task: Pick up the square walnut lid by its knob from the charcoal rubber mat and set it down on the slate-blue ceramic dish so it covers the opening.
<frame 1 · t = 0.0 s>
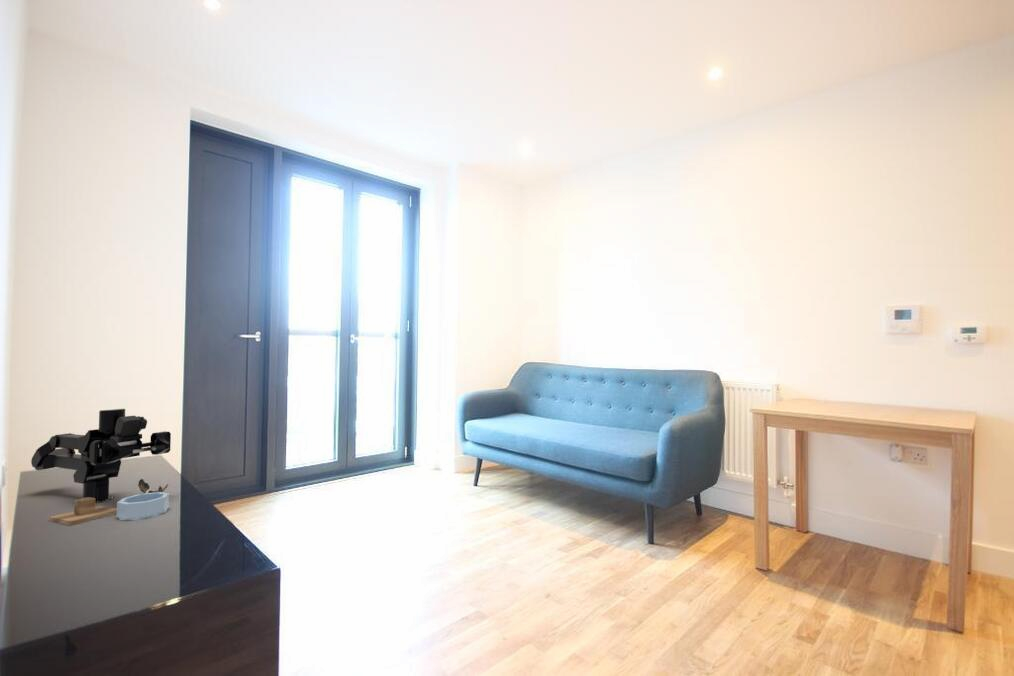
hand: (151, 448, 125), 17 cm above the table, tool horizontal, fingers open, 9 cm apart
mat: (84, 518, 118), on the table
lid: (84, 516, 118), resting on mat
bowl: (143, 515, 120), on the table
eagle figurine: (144, 503, 131), on the table
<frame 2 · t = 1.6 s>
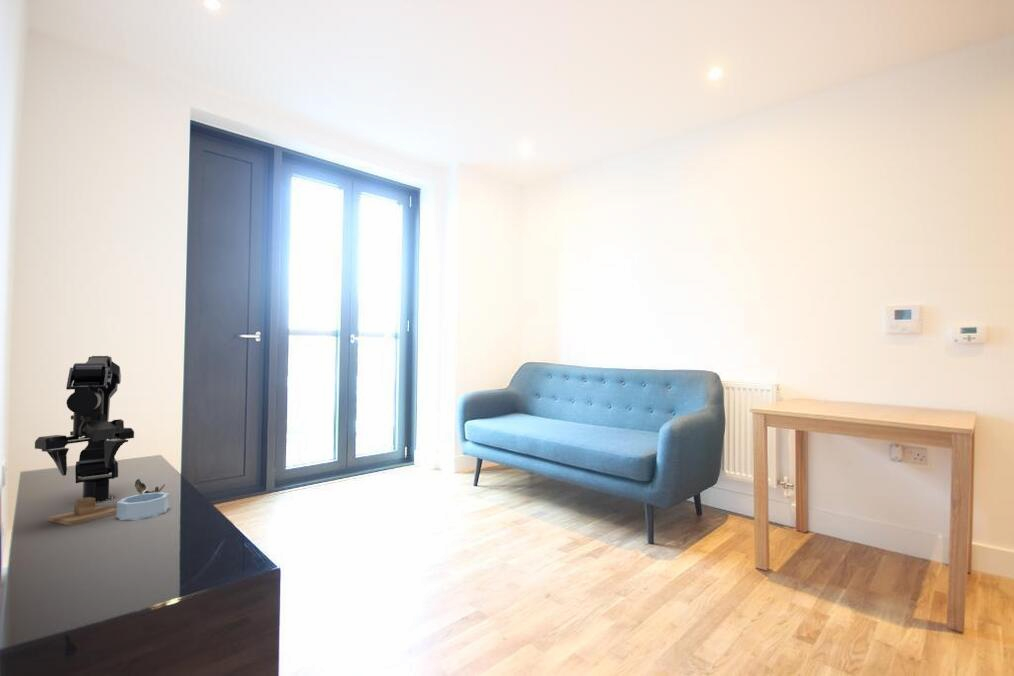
hand: (86, 471, 119), 12 cm above the table, tool pointing down, fingers open, 9 cm apart
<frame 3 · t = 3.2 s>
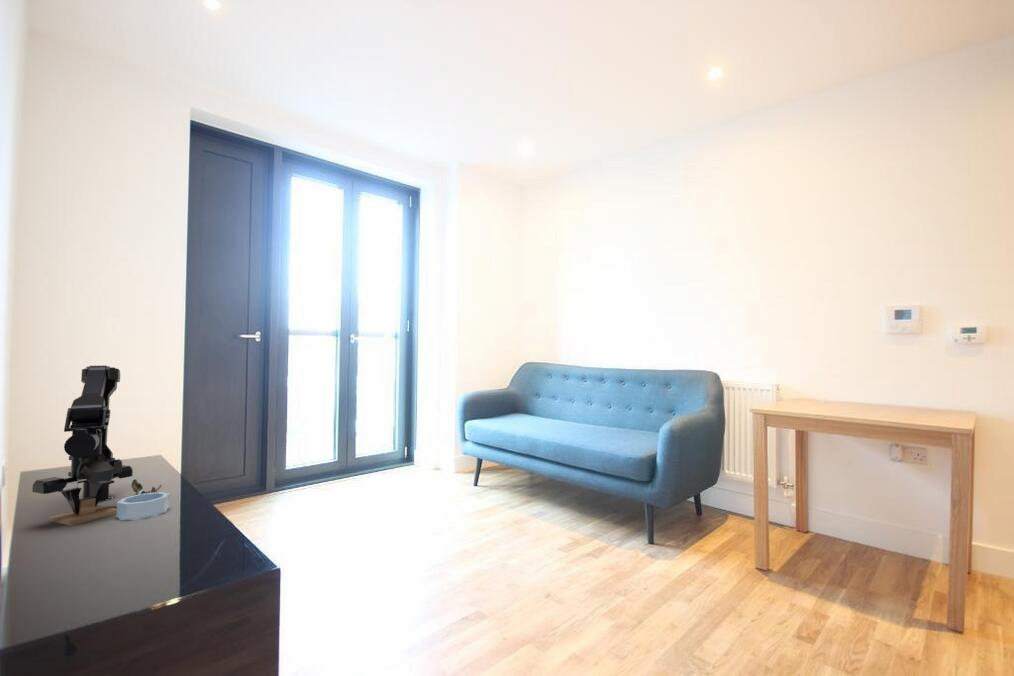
hand: (84, 512, 118), 2 cm above the table, tool pointing down, fingers closed on lid, 3 cm apart
lid: (84, 516, 118), resting on mat, touching gripper
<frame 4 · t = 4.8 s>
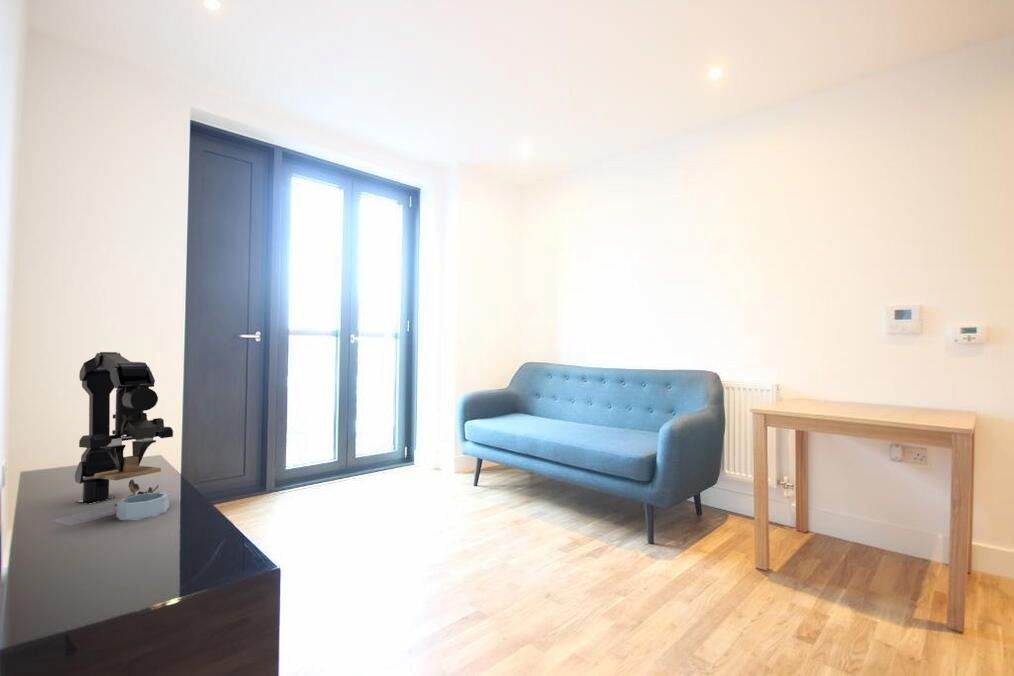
hand: (128, 469, 120), 12 cm above the table, tool pointing down, fingers closed on lid, 3 cm apart
lid: (128, 474, 119), point 11 cm above the table, touching gripper
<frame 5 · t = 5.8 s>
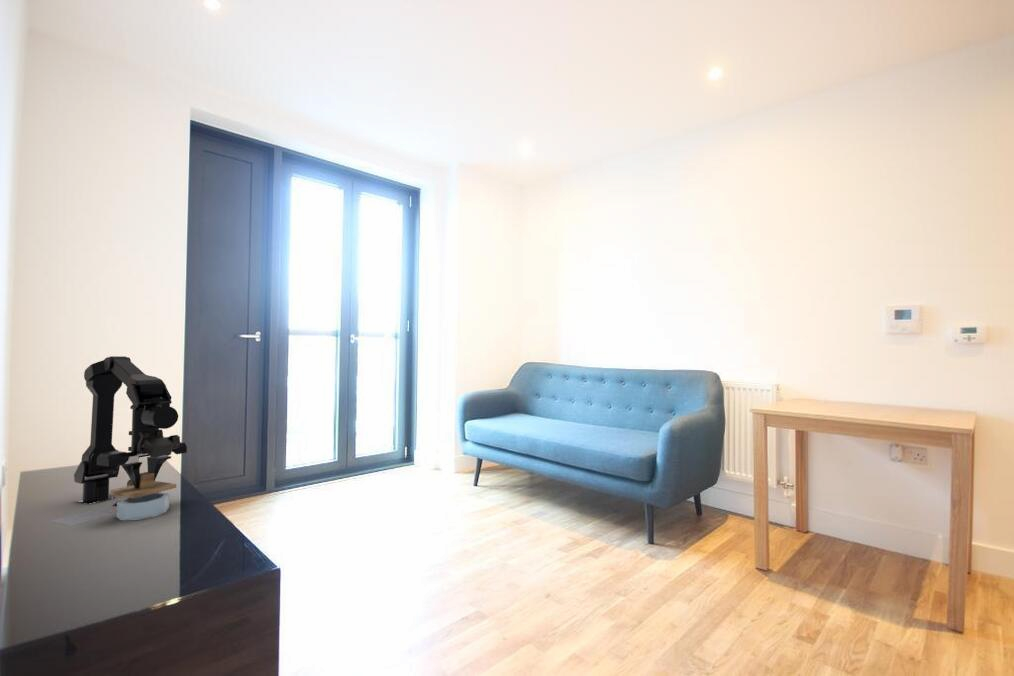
hand: (144, 486, 120), 7 cm above the table, tool pointing down, fingers closed on lid, 3 cm apart
lid: (144, 490, 120), point 6 cm above the table, touching gripper
when the fingers open (7 cm above the table, at t = 6.4 s): lid drops 2 cm, resting on bowl.
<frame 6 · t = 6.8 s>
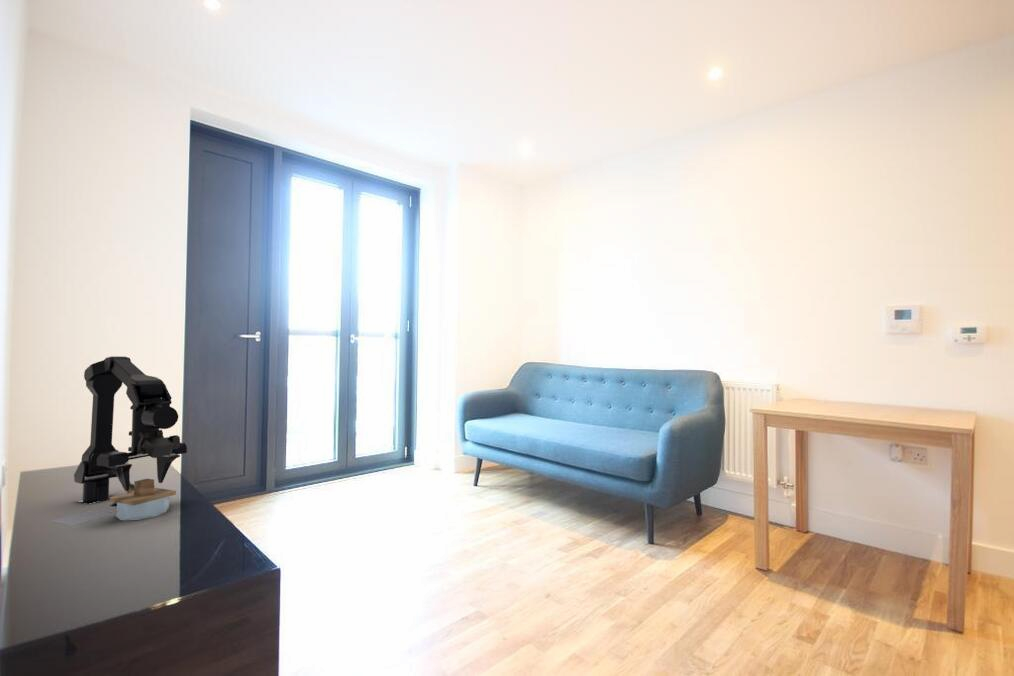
hand: (144, 486, 120), 7 cm above the table, tool pointing down, fingers open, 8 cm apart
lid: (143, 497, 120), point 4 cm above the table, touching bowl
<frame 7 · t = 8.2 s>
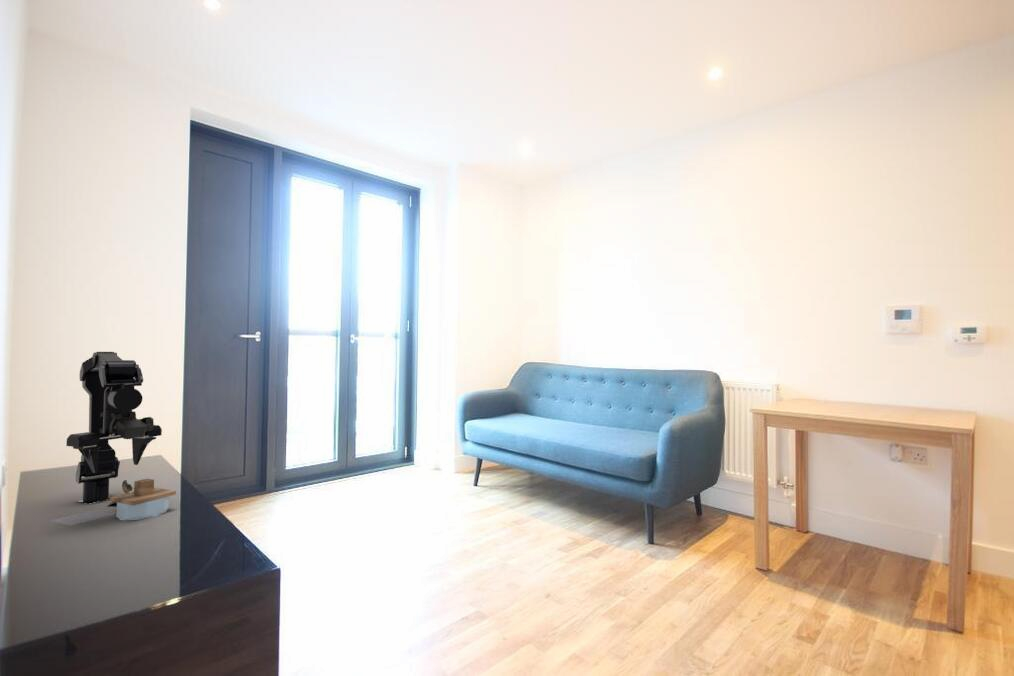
hand: (116, 468, 119), 13 cm above the table, tool pointing down, fingers open, 9 cm apart
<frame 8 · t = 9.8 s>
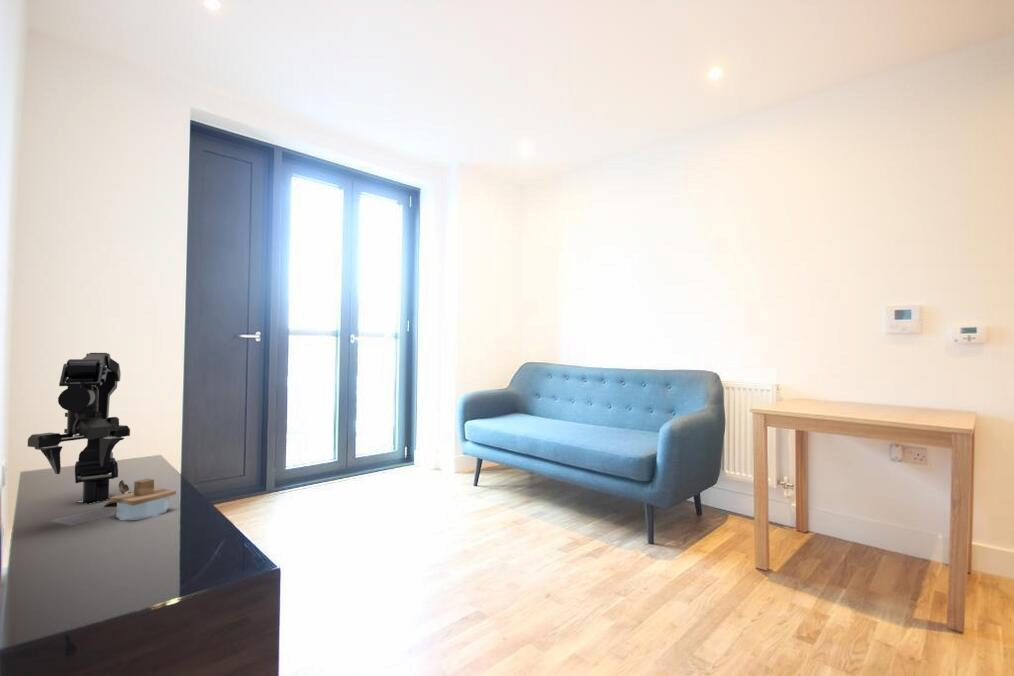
hand: (81, 469, 116), 13 cm above the table, tool pointing down, fingers open, 9 cm apart
at the end: lid 0.0 cm off-centre on the bowl, point 4.5 cm above the bowl's base; lid tilted 0°; the gripper is holding nothing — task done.
